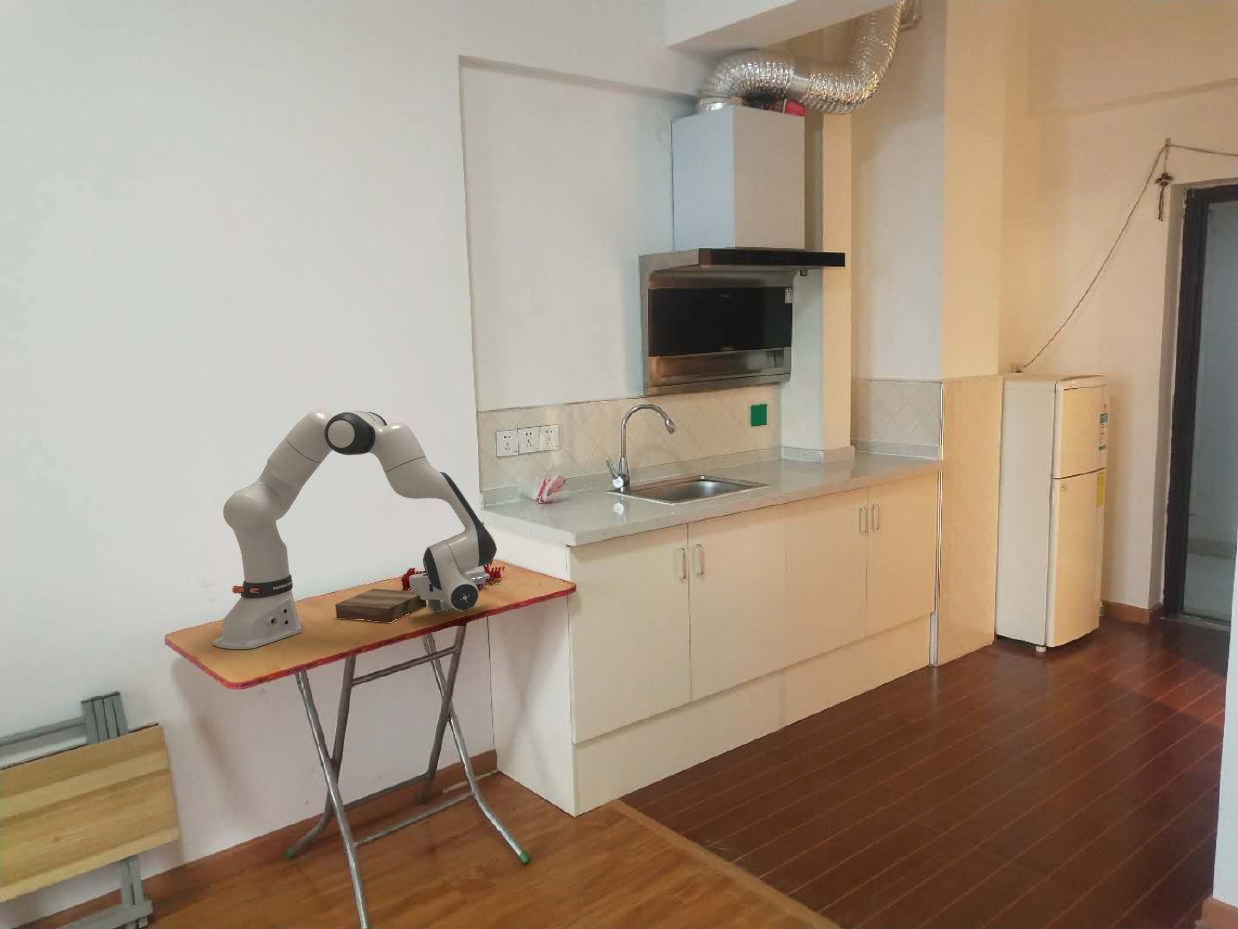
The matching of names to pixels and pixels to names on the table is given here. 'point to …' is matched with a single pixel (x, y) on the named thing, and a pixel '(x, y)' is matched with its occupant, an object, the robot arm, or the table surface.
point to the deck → (380, 605)
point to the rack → (439, 605)
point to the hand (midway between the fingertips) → (443, 572)
